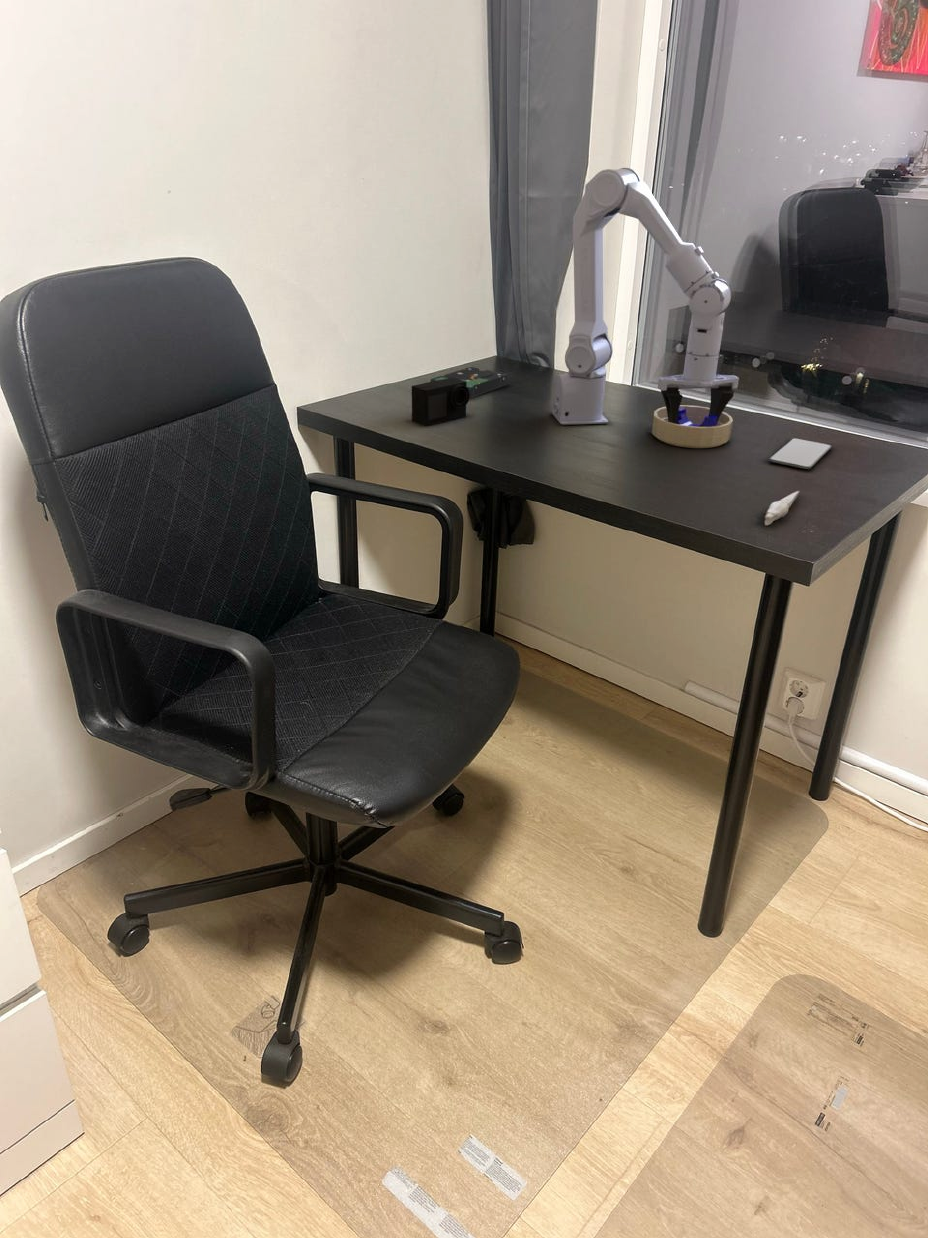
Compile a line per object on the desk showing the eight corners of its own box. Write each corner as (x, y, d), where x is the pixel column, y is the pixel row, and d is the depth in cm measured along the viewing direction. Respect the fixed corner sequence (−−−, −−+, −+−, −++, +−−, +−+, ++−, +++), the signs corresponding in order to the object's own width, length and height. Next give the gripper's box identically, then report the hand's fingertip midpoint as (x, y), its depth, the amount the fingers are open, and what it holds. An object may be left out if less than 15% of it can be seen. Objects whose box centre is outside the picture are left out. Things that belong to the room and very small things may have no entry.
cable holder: (666, 431, 165) (669, 410, 163) (676, 427, 167) (679, 406, 165) (705, 441, 160) (708, 419, 158) (714, 436, 163) (717, 415, 161)
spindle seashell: (774, 528, 127) (776, 516, 126) (756, 524, 129) (758, 512, 128) (806, 498, 138) (808, 487, 137) (789, 494, 139) (792, 483, 138)
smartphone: (832, 444, 159) (809, 467, 149) (831, 447, 160) (808, 470, 149) (793, 437, 163) (768, 458, 152) (793, 440, 163) (768, 461, 152)
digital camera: (429, 428, 166) (429, 391, 163) (411, 421, 170) (411, 385, 166) (470, 418, 172) (471, 382, 169) (452, 411, 176) (452, 376, 172)
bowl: (666, 450, 157) (669, 428, 155) (641, 426, 169) (643, 406, 167) (741, 448, 159) (745, 426, 157) (711, 424, 171) (714, 404, 169)
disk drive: (469, 378, 199) (429, 391, 188) (470, 366, 197) (429, 378, 187) (507, 386, 194) (468, 399, 183) (508, 373, 192) (469, 386, 182)
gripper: (671, 358, 152) (661, 435, 159) (750, 357, 154) (737, 432, 161) (657, 349, 158) (648, 423, 165) (734, 348, 160) (722, 421, 167)
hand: (691, 427), depth 163 cm, fingers open, 7 cm apart
